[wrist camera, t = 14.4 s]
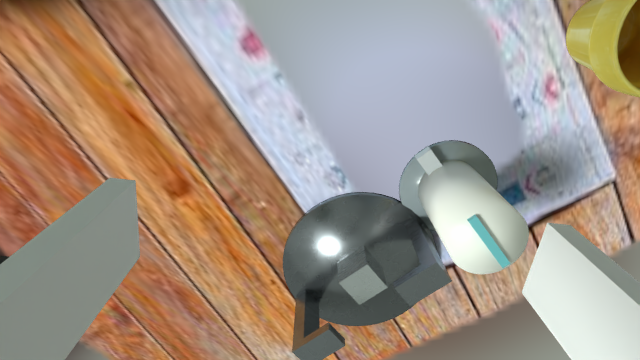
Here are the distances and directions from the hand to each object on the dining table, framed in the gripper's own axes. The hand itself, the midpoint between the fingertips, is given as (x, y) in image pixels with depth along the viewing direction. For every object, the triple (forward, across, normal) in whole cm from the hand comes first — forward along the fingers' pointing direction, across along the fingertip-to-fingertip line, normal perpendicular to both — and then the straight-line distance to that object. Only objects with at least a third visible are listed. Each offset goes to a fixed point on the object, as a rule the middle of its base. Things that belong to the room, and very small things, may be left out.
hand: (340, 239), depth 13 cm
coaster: (+32, +16, -10) cm, 37 cm away
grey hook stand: (+32, +7, -21) cm, 39 cm away
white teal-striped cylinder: (+31, +16, -10) cm, 36 cm away
